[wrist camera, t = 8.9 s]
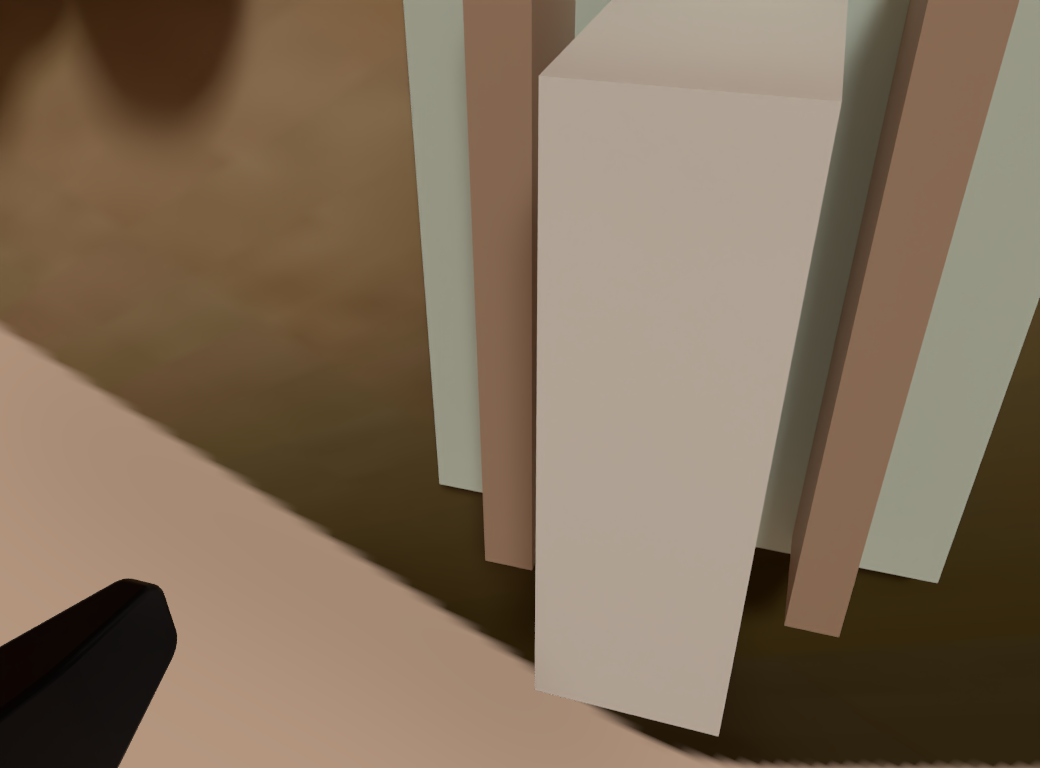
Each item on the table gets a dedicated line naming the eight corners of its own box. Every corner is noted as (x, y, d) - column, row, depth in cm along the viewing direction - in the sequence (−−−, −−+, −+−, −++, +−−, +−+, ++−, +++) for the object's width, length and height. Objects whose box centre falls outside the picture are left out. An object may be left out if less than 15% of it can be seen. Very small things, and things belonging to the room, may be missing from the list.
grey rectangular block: (849, -25, 14) (842, 101, 9) (754, 492, 19) (718, 736, 15) (646, -36, 14) (538, 76, 10) (612, 465, 20) (535, 690, 15)
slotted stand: (1173, -143, 12) (1259, -110, 10) (934, 549, 20) (946, 680, 17) (416, -157, 15) (317, -135, 12) (454, 458, 23) (397, 557, 20)
